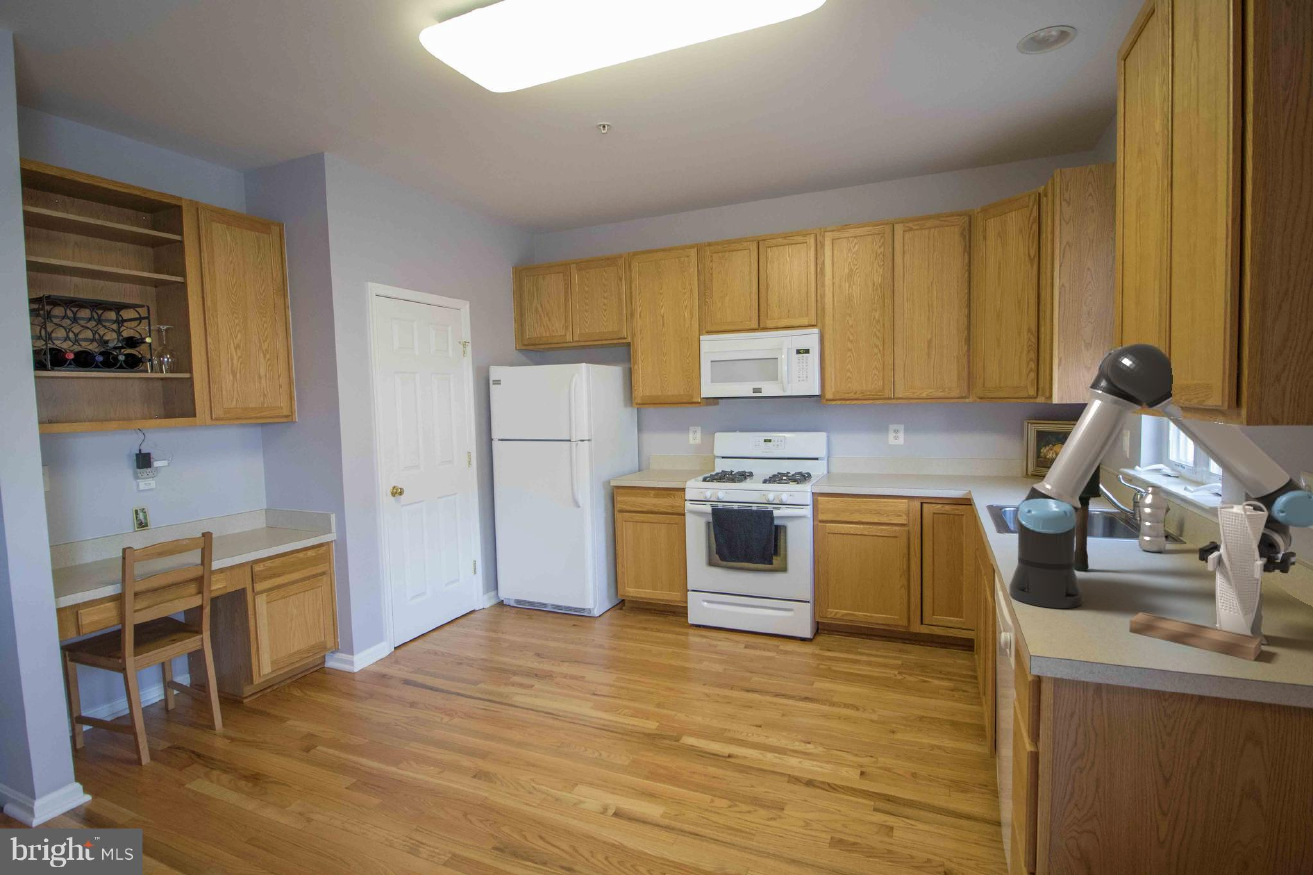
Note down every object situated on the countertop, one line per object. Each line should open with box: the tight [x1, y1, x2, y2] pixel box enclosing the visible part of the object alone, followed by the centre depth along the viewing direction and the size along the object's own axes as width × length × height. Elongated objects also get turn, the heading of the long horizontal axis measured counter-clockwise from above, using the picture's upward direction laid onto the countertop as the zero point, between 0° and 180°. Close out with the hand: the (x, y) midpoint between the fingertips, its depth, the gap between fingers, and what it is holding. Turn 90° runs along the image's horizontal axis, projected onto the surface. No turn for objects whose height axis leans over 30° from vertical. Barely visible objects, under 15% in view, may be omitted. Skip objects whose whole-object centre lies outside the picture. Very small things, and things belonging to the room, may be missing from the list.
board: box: [1128, 611, 1262, 661], centre depth 126 cm, size 19×7×3 cm, turn 38°
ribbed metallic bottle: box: [1137, 485, 1168, 553], centre depth 192 cm, size 6×7×20 cm
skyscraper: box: [1214, 501, 1268, 645], centre depth 126 cm, size 8×8×28 cm
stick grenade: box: [1074, 463, 1102, 572], centre depth 174 cm, size 8×9×30 cm
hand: (1233, 567), depth 123 cm, fingers closed on skyscraper, 6 cm apart
